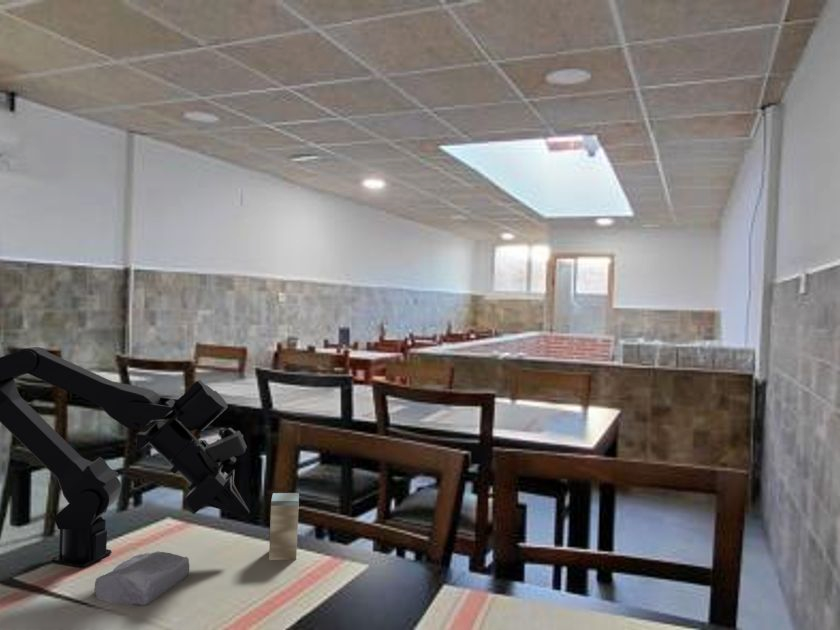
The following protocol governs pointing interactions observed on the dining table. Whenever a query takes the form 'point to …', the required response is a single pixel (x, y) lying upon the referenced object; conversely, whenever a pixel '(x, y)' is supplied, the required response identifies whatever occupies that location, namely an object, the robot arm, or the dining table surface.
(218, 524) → the dining table surface
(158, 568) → the stone block
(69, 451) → the robot arm
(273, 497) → the beech block
